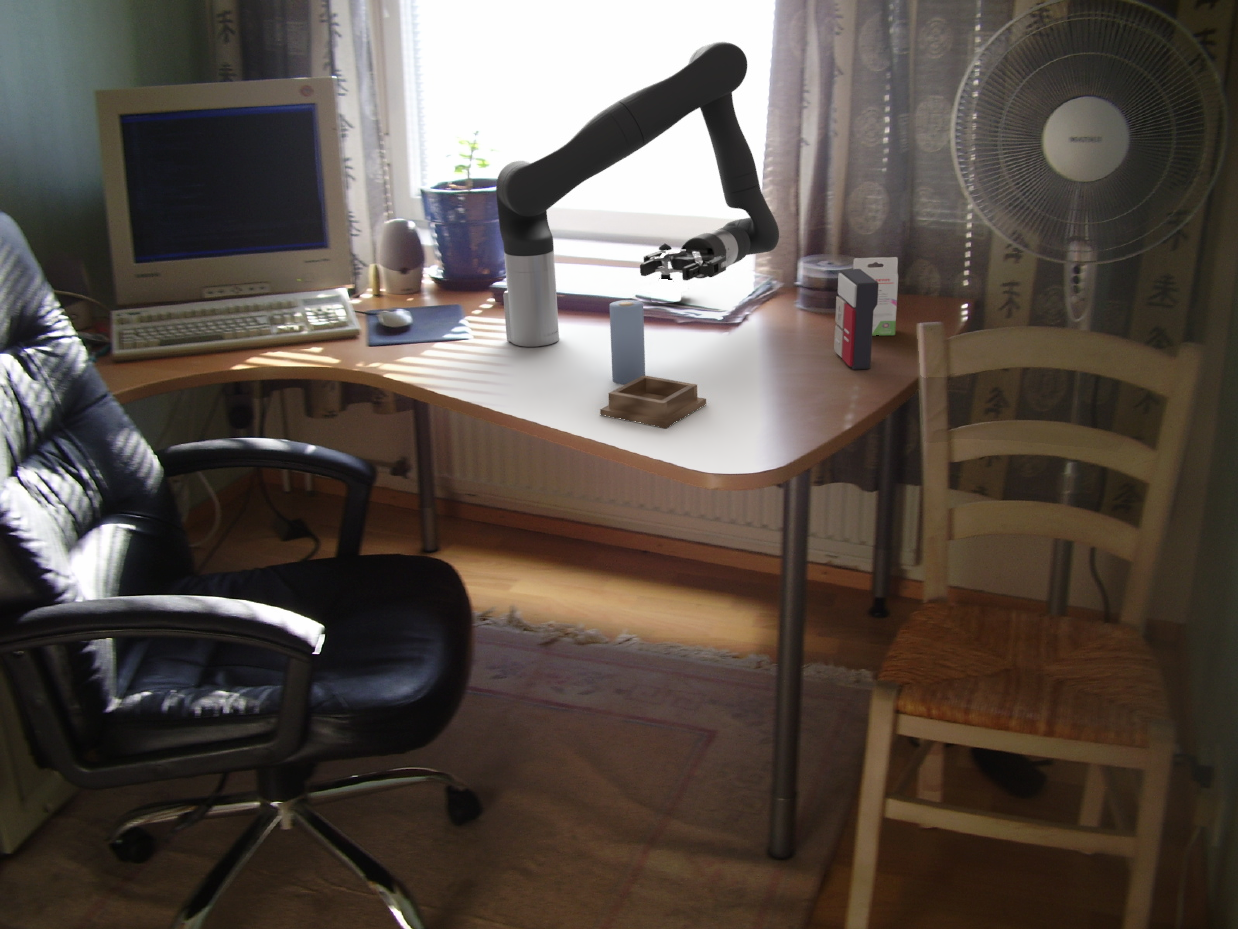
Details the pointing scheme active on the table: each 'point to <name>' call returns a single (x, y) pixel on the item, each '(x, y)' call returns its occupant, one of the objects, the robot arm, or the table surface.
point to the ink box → (882, 292)
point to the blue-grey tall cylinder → (627, 340)
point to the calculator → (855, 317)
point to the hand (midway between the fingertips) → (663, 272)
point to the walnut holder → (653, 401)
